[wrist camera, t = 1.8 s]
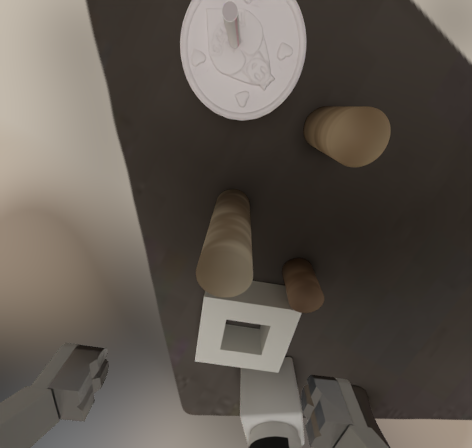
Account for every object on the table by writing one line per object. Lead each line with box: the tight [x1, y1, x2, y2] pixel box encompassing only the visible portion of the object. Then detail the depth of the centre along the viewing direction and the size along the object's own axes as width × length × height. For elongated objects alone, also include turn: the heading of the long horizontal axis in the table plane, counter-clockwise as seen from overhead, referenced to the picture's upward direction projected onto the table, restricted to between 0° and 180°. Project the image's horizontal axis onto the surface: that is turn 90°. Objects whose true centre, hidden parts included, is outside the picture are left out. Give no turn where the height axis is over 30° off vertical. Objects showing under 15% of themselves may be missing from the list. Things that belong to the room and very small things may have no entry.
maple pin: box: [196, 189, 253, 297], centre depth 21 cm, size 4×4×12 cm
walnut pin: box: [282, 258, 324, 313], centre depth 27 cm, size 4×4×5 cm
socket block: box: [195, 281, 302, 373], centre depth 31 cm, size 11×11×4 cm
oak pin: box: [304, 106, 391, 167], centre depth 19 cm, size 4×4×8 cm
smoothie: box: [180, 0, 306, 121], centre depth 15 cm, size 6×6×14 cm
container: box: [240, 357, 305, 448], centre depth 32 cm, size 8×8×13 cm
